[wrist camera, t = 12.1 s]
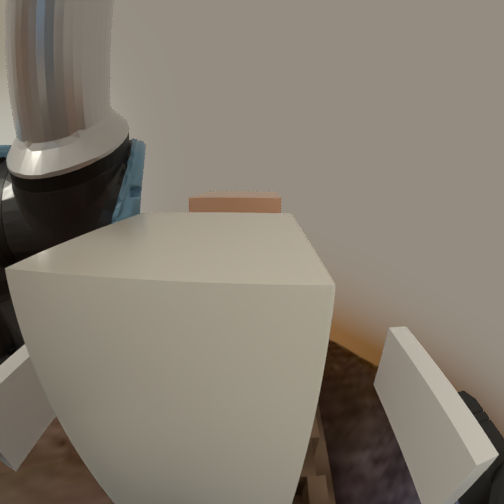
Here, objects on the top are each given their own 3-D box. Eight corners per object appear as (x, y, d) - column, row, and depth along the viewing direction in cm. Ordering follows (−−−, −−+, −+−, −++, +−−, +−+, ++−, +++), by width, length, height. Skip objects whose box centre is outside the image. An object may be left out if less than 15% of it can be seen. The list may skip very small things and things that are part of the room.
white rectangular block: (182, 570, 7) (4, 268, 3) (196, 503, 12) (142, 212, 8) (264, 578, 7) (335, 285, 3) (266, 508, 12) (291, 213, 7)
